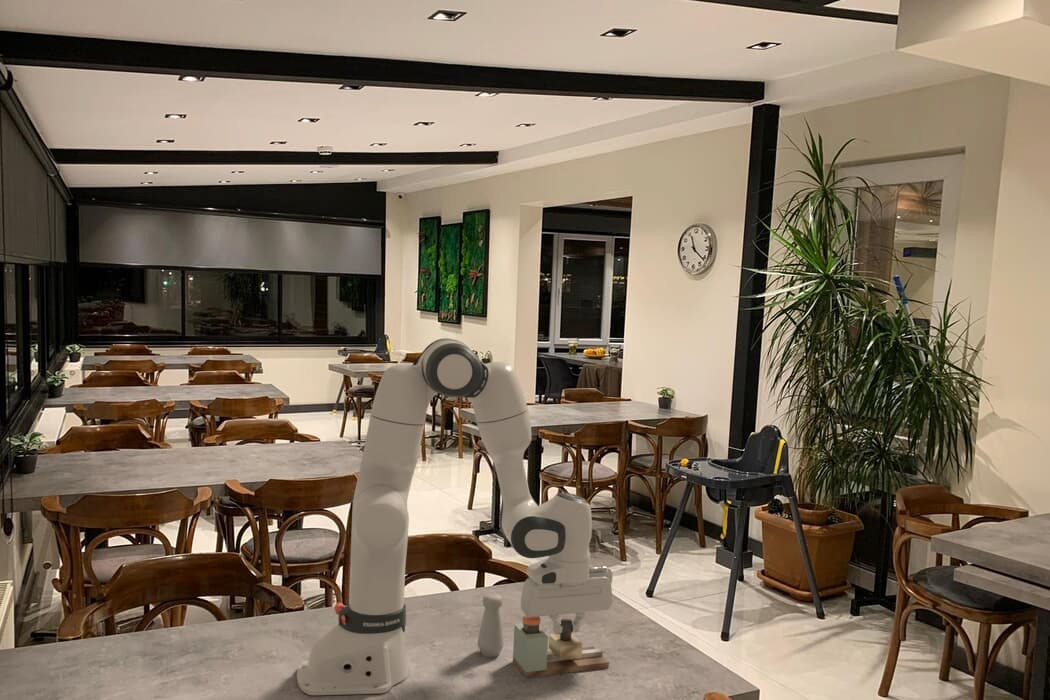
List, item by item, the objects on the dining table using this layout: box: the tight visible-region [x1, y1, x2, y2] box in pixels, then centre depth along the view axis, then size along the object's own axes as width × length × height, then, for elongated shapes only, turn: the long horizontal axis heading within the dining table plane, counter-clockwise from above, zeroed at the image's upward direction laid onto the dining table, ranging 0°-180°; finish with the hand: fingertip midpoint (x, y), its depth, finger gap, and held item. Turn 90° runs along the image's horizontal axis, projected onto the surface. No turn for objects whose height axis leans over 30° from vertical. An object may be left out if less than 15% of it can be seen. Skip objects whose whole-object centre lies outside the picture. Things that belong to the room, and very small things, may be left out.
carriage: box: [548, 618, 583, 660], centre depth 176 cm, size 5×6×7 cm
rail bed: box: [512, 646, 610, 679], centre depth 176 cm, size 19×8×2 cm, turn 110°
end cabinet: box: [512, 622, 549, 672], centre depth 173 cm, size 5×8×7 cm, turn 20°
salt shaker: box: [477, 593, 505, 658], centre depth 179 cm, size 6×6×13 cm
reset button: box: [522, 615, 541, 634], centre depth 173 cm, size 4×4×5 cm
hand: (565, 632), depth 176 cm, fingers closed on carriage, 2 cm apart
